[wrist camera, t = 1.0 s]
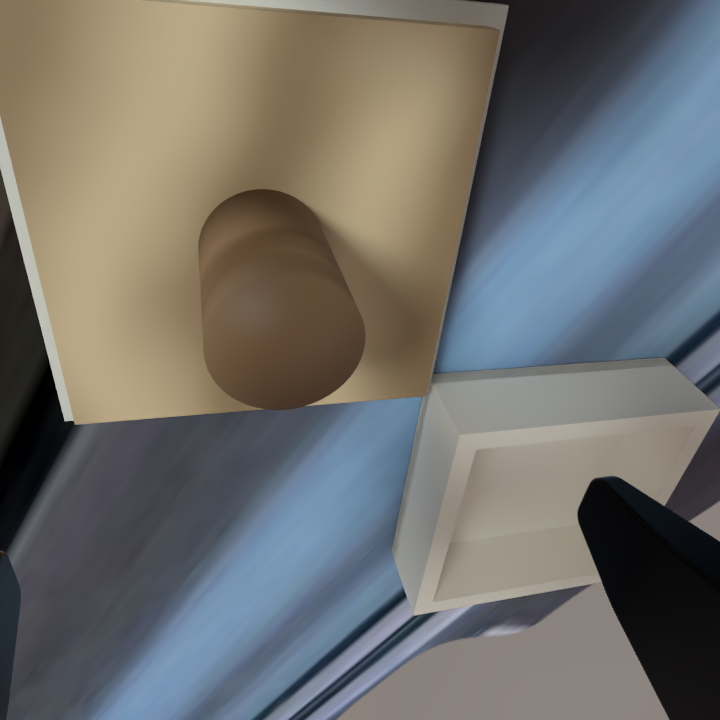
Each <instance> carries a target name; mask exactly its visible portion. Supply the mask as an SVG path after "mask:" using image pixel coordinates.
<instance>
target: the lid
mask: <svg viewBox="0 0 720 720" xmlns="http://www.w3.org/2000/svg"><path fill="white" fill-rule="evenodd" d="M499 33H500V30H498V29H495V28H492V27H489V26H483V25H472V24H460V23H448V22H436V21H424V20H413V19H401V18H389V17H377V16H365V15H354V14H342V13H330V12H318V11H306V10H295V9H283V8H271V7H259V6H247V5H236V4H224V3H212V2H200V1H188V0H0V117H1V121H2V126H3V130H4V134H5V138H6V142H7V146H8V150H9V154H10V159H11V163H12V167H13V171H14V175H15V179H16V183H17V188H18V192H19V196H20V200H21V204H22V208H23V212H24V216H25V221H26V225H27V229H28V233H29V237H30V241H31V245H32V249H33V254H34V258H35V262H36V266H37V270H38V274H39V278H40V282H41V287H42V291H43V295H44V299H45V303H46V307H47V311H48V315H49V320H50V324H51V328H52V332H53V336H54V340H55V344H56V348H57V353H58V357H59V361H60V365H61V369H62V373H63V377H64V382H65V386H66V390H67V394H68V398H69V402H70V406H71V410H72V415H73V419H74V423H75V425H76V424H88V423H100V422H113V421H125V420H137V419H150V418H162V417H174V416H187V415H199V414H211V413H224V412H236V411H248V410H261V409H269V410H286V409H294V408H299V407H303V406H310V405H323V404H335V403H347V402H360V401H372V400H384V399H397V398H409V397H421V396H426V392H427V387H428V382H429V377H430V372H431V368H432V363H433V358H434V353H435V348H436V343H437V338H438V333H439V328H440V323H441V318H442V313H443V309H444V304H445V299H446V294H447V289H448V284H449V279H450V274H451V269H452V264H453V259H454V255H455V250H456V245H457V240H458V235H459V230H460V225H461V220H462V215H463V210H464V205H465V200H466V196H467V191H468V186H469V181H470V176H471V171H472V166H473V161H474V156H475V151H476V146H477V142H478V137H479V132H480V127H481V122H482V117H483V112H484V107H485V102H486V97H487V92H488V87H489V83H490V78H491V73H492V68H493V63H494V58H495V53H496V48H497V43H498V38H499Z"/></svg>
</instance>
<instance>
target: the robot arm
mask: <svg viewBox="0 0 720 720" xmlns="http://www.w3.org/2000/svg"><path fill="white" fill-rule="evenodd" d="M577 518H578V523H579V526H580V528H581V531H582V533H583V536H584V538H585V541H586V543H587V546H588V548H589V551H590V553H591V556H592V558H593V561H594V564H595V566H596V569H597V571H598V574H599V576H600V579H601V581H602V584H603V586H604V589H605V591H606V594H607V596H608V598H609V601H610V603H611V605H612V608H613V610H614V611H615V614H616V616H617V618H618V620H619V622H620V624H621V626H622V628H623V629H624V632H625V634H626V635H627V638H628V639H629V641H630V643H631V645H632V647H633V649H634V651H635V653H636V655H637V657H638V659H639V661H640V663H641V665H642V667H643V669H644V671H645V673H646V675H647V676H648V679H649V680H650V682H651V684H652V686H653V688H654V690H655V692H656V694H657V696H658V698H659V700H660V702H661V704H662V706H663V708H664V709H665V712H666V714H667V715H668V718H669V720H720V542H719V541H718V540H716V539H715V538H713V537H712V536H710V535H709V534H707V533H706V532H704V531H702V530H700V529H699V528H698V527H696V526H695V525H693V524H692V523H690V522H688V521H687V520H685V519H684V518H682V517H681V516H679V515H678V514H676V513H674V512H673V511H671V510H670V509H668V508H667V507H665V506H664V505H662V504H660V503H659V502H657V501H656V500H654V499H653V498H651V497H649V496H648V495H646V494H645V493H643V492H642V491H640V490H639V489H637V488H635V487H634V486H632V485H631V484H629V483H628V482H626V481H625V480H623V479H621V478H619V477H617V476H606V477H598V478H594V479H593V480H592V481H591V482H590V484H589V486H588V488H587V490H586V492H585V494H584V496H583V499H582V501H581V503H580V505H579V507H578V511H577ZM20 603H21V591H20V586H19V583H18V580H17V578H16V575H15V573H14V570H13V568H12V565H11V563H10V560H9V557H8V556H7V554H6V553H5V552H3V551H0V720H6V718H7V711H8V703H9V696H10V687H11V679H12V671H13V662H14V654H15V646H16V637H17V629H18V620H19V612H20Z"/></svg>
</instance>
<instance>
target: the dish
mask: <svg viewBox="0 0 720 720" xmlns="http://www.w3.org/2000/svg"><path fill="white" fill-rule="evenodd" d="M719 411H720V408H719V407H718V406H717V405H716V404H715V403H714V402H713V401H711V400H710V399H709V398H708V397H707V396H706V395H705V394H704V393H703V392H702V391H700V390H699V389H698V388H697V387H696V386H695V385H694V384H693V383H692V382H690V381H689V380H688V379H687V378H686V377H685V376H684V375H683V374H682V373H681V372H679V371H678V370H677V369H676V368H675V367H674V366H673V365H672V364H671V363H670V362H668V361H667V360H666V359H665V358H664V357H663V358H649V359H635V360H621V361H607V362H593V363H579V364H565V365H551V366H537V367H523V368H509V369H495V370H481V371H467V372H453V373H439V374H433V376H432V381H431V386H430V390H429V392H426V396H423V397H422V402H421V407H420V412H419V417H418V422H417V427H416V432H415V437H414V442H413V447H412V452H411V457H410V462H409V467H408V472H407V477H406V482H405V487H404V492H403V497H402V502H401V507H400V512H399V517H398V522H397V527H396V532H395V537H394V542H393V547H392V553H393V556H394V559H395V562H396V565H397V568H398V571H399V575H400V578H401V581H402V584H403V587H404V590H405V593H406V596H407V599H408V602H409V605H410V608H411V611H412V614H413V615H419V614H425V613H430V612H436V611H442V610H447V609H453V608H458V607H464V606H470V605H475V604H481V603H487V602H492V601H498V600H504V599H509V598H515V597H521V596H526V595H532V594H538V593H543V592H549V591H555V590H560V589H566V588H572V587H577V586H583V585H589V584H594V583H600V582H602V581H601V579H600V576H599V574H598V571H597V569H596V566H595V564H594V561H593V558H592V556H591V553H590V551H589V548H588V546H587V543H586V541H585V538H584V536H583V533H582V531H581V528H580V526H579V523H578V518H577V511H578V507H579V505H580V503H581V501H582V499H583V496H584V494H585V492H586V490H587V488H588V486H589V484H590V482H591V481H592V480H593V479H594V478H598V477H606V476H617V477H619V478H621V479H623V480H625V481H626V482H628V483H629V484H631V485H632V486H634V487H635V488H637V489H639V490H640V491H642V492H643V493H645V494H646V495H648V496H649V497H651V498H653V499H654V500H656V501H657V502H659V503H660V504H662V505H664V506H665V504H666V503H667V501H668V499H669V498H670V496H671V494H672V492H673V491H674V489H675V487H676V485H677V484H678V482H679V480H680V479H681V477H682V475H683V473H684V472H685V470H686V468H687V467H688V465H689V463H690V461H691V460H692V458H693V456H694V455H695V453H696V451H697V449H698V448H699V446H700V444H701V442H702V441H703V439H704V437H705V436H706V434H707V432H708V430H709V429H710V427H711V425H712V424H713V422H714V420H715V418H716V417H717V415H718V413H719Z"/></svg>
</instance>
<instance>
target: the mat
mask: <svg viewBox="0 0 720 720" xmlns="http://www.w3.org/2000/svg"><path fill="white" fill-rule="evenodd" d="M188 1H200V2H212V3H224V4H236V5H247V6H259V7H271V8H283V9H295V10H306V11H318V12H330V13H342V14H354V15H365V16H377V17H389V18H401V19H413V20H424V21H436V22H448V23H460V24H472V25H483V26H489V27H492V28H495V29H498V30H500V33H499V38H498V43H497V48H496V53H495V58H494V63H493V68H492V73H491V78H490V83H489V87H488V92H487V97H486V102H485V107H484V112H483V117H482V122H481V127H480V132H479V137H478V142H477V146H476V151H475V156H474V161H473V166H472V171H471V176H470V181H469V186H468V191H467V196H466V200H465V205H464V210H463V215H462V220H461V225H460V230H459V235H458V240H457V245H456V250H455V255H454V259H453V264H452V269H451V274H450V279H449V284H448V289H447V294H446V299H445V304H444V309H443V313H442V318H441V323H440V328H439V333H438V338H437V343H436V348H435V353H434V358H433V363H432V368H431V372H430V377H429V382H428V387H427V392H429V390H430V386H431V381H432V376H433V371H434V366H435V361H436V357H437V352H438V347H439V342H440V337H441V332H442V328H443V323H444V318H445V313H446V308H447V303H448V299H449V294H450V289H451V284H452V279H453V274H454V270H455V265H456V260H457V255H458V250H459V245H460V241H461V236H462V231H463V226H464V221H465V216H466V212H467V207H468V202H469V197H470V192H471V187H472V183H473V178H474V173H475V168H476V163H477V158H478V154H479V149H480V144H481V139H482V134H483V129H484V124H485V120H486V115H487V110H488V105H489V100H490V95H491V91H492V86H493V81H494V76H495V71H496V66H497V62H498V57H499V52H500V47H501V42H502V37H503V33H504V28H505V23H506V18H507V13H508V8H509V6H508V5H505V4H500V3H489V2H479V1H469V0H188ZM0 168H1V172H2V176H3V180H4V184H5V188H6V192H7V196H8V200H9V204H10V208H11V212H12V216H13V219H14V223H15V227H16V231H17V235H18V239H19V243H20V247H21V251H22V255H23V259H24V263H25V267H26V271H27V275H28V278H29V282H30V286H31V290H32V294H33V298H34V302H35V306H36V310H37V314H38V318H39V322H40V326H41V330H42V334H43V337H44V341H45V345H46V349H47V353H48V357H49V361H50V365H51V369H52V373H53V377H54V381H55V385H56V389H57V393H58V396H59V400H60V404H61V408H62V412H63V416H64V420H65V421H74V419H73V415H72V410H71V406H70V402H69V398H68V394H67V390H66V386H65V382H64V377H63V373H62V369H61V365H60V361H59V357H58V353H57V348H56V344H55V340H54V336H53V332H52V328H51V324H50V320H49V315H48V311H47V307H46V303H45V299H44V295H43V291H42V287H41V282H40V278H39V274H38V270H37V266H36V262H35V258H34V254H33V249H32V245H31V241H30V237H29V233H28V229H27V225H26V221H25V216H24V212H23V208H22V204H21V200H20V196H19V192H18V188H17V183H16V179H15V175H14V171H13V167H12V163H11V159H10V154H9V150H8V146H7V142H6V138H5V134H4V130H3V126H2V121H1V117H0Z"/></svg>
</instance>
